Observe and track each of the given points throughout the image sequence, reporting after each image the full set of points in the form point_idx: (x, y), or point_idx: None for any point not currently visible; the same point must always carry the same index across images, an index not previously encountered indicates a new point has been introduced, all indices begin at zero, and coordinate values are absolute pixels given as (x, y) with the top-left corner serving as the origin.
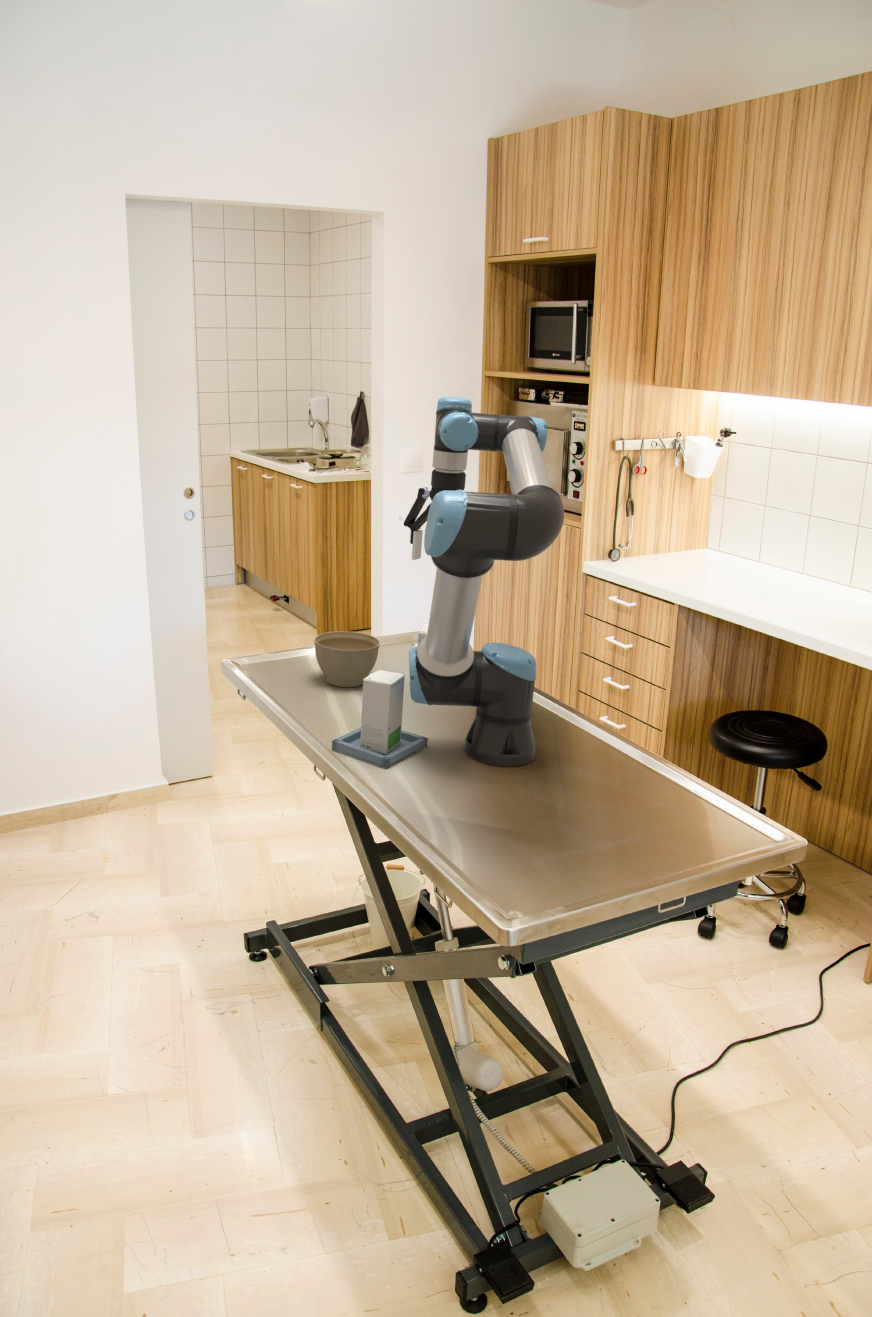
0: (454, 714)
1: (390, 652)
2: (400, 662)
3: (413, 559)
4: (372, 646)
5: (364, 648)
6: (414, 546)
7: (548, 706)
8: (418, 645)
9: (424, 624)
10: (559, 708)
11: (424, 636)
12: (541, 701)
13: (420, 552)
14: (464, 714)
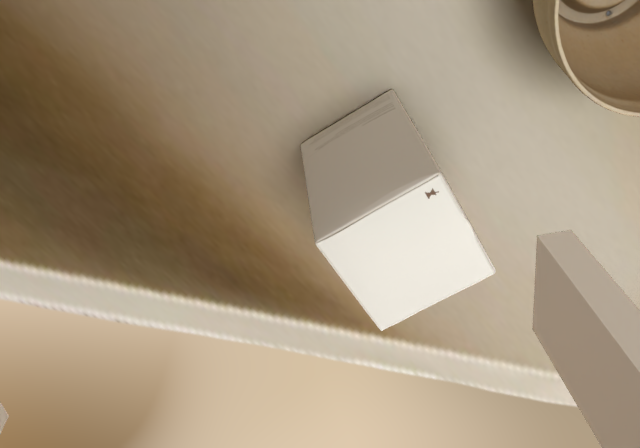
0: (164, 27)
1: (624, 256)
2: (558, 222)
3: (549, 235)
4: (608, 93)
5: (637, 86)
6: (619, 325)
7: (69, 287)
8: (423, 150)
9: (489, 264)
10: (43, 297)
11: (413, 178)
12: (108, 298)
13: (556, 359)
14: (146, 54)
